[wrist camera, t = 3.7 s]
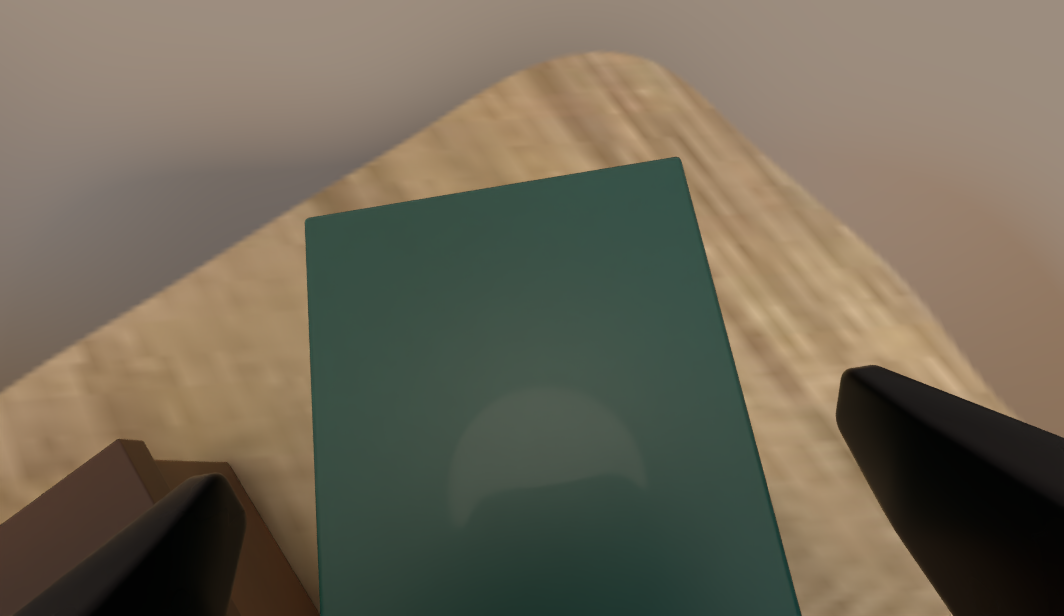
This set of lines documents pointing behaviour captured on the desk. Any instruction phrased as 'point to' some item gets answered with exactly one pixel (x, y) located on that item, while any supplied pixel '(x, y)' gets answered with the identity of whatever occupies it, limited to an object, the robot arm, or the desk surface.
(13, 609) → the walnut box
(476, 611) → the tea packet
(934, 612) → the desk surface
